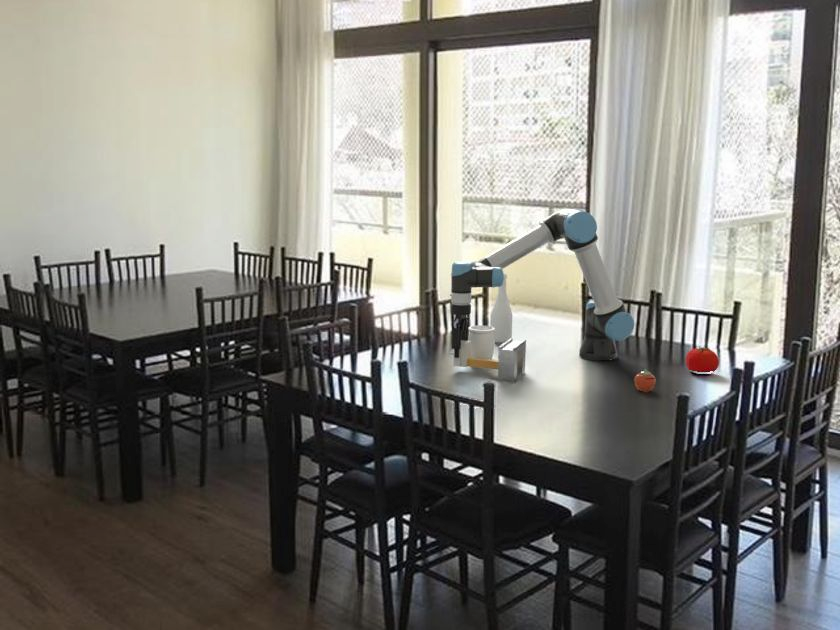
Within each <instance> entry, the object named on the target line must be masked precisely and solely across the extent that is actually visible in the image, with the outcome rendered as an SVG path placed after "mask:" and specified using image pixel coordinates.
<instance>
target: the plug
mask: <svg viewBox="0 0 840 630" xmlns="http://www.w3.org/2000/svg"><path fill="white" fill-rule="evenodd" d="M460 349H461V366H459V367H462V368H467V367H469V368H477V369H488V370H497V371H498V359H494V358H492V359H484V358H474V357H471V341H465V340H461V347H460ZM449 355H454V350H451V351H449Z"/></svg>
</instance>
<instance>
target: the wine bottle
mask: <svg viewBox="0 0 840 630" xmlns="http://www.w3.org/2000/svg"><path fill="white" fill-rule="evenodd" d="M503 274H504V281H503V284H502V286H500V287H497V288H498V290H497V295H496V298H495V300H494V303H493V306H492V308H491V312H490V315H489V317H490V322H489V323H490V324H489V326H491V327H494V328H495V331H494V332H493V333H494V339H495V343H497V344H503V343H505V342H506V341H508V340H509V339H510V338H513V337H512V334H513V312H512V308H511V304H510V301H509V298H508V295H507V279H508V278H507V277H508V275H507V273H506V272H503Z"/></svg>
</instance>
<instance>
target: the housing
mask: <svg viewBox="0 0 840 630" xmlns="http://www.w3.org/2000/svg"><path fill="white" fill-rule="evenodd" d="M526 347H527V339H522V341H521V340H520V341H519V340H514V339H513V337H512V338H510V339H509V340H508V341H506V342H505V343H501V345H500V346H498V355H497V356H498V358H497V360H498V370H497V382H500V383H501V382H502V383H510V384H515V382H517V380H518V379H517V377H518V376H523V375H524V374H525V373H526V353H527V351H526V350H527V348H526Z"/></svg>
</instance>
